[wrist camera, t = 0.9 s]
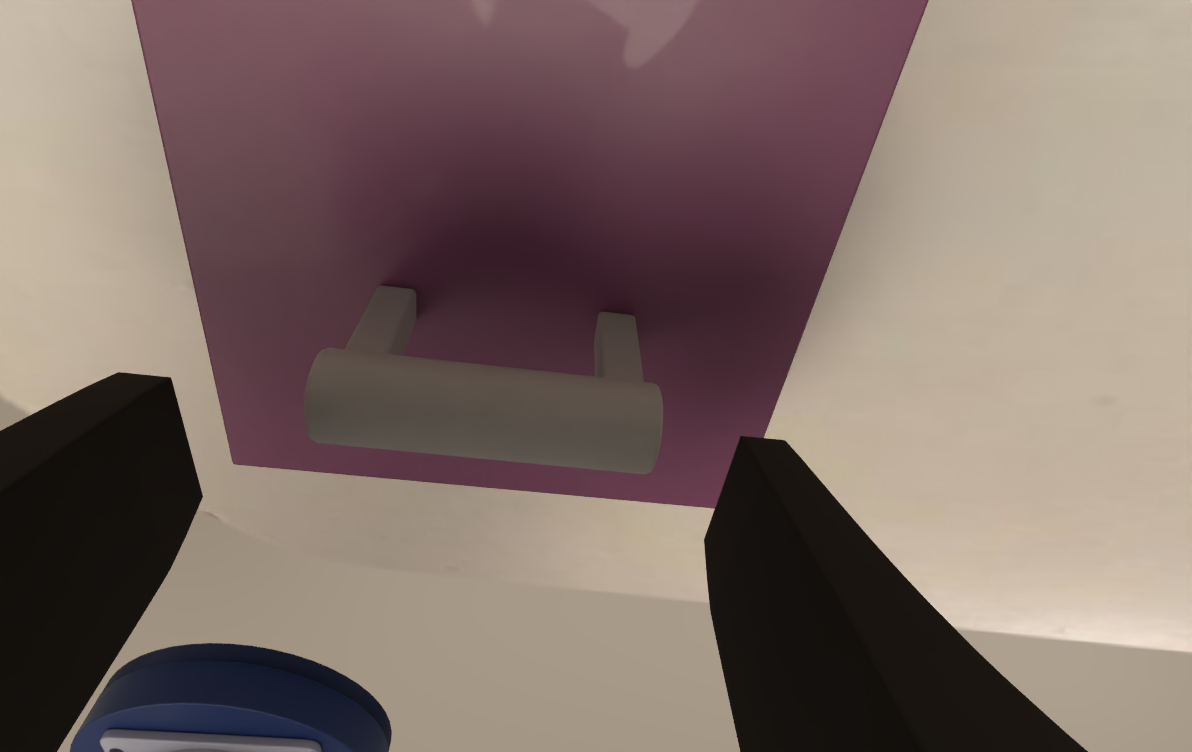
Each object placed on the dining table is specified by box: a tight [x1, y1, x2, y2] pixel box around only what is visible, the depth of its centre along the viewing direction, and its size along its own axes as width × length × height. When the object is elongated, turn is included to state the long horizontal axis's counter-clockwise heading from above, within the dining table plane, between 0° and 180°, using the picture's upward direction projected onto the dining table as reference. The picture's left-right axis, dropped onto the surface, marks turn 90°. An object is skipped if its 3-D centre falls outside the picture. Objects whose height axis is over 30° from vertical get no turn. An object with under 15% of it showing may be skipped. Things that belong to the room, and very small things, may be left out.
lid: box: [131, 0, 928, 508], centre depth 10 cm, size 13×11×4 cm
